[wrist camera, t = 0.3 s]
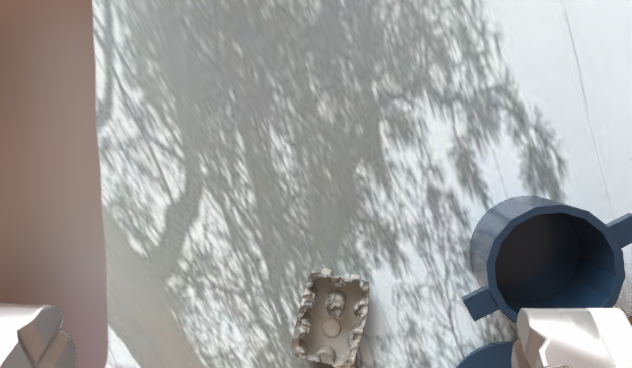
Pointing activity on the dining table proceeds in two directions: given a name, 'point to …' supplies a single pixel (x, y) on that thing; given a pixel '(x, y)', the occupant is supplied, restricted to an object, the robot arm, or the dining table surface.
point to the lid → (489, 356)
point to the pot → (545, 258)
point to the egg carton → (331, 319)
